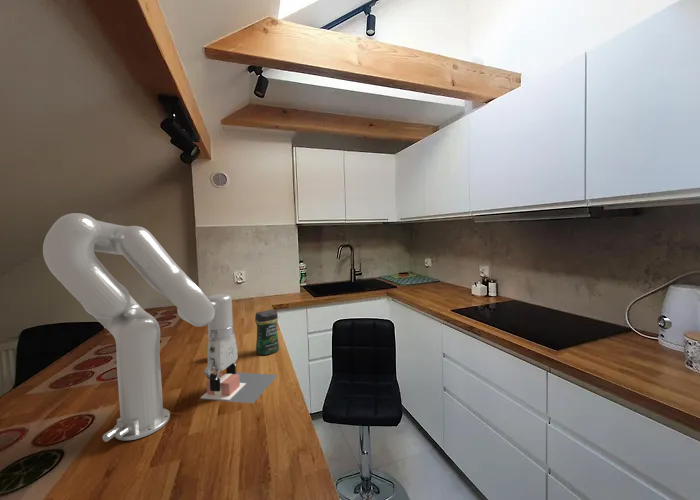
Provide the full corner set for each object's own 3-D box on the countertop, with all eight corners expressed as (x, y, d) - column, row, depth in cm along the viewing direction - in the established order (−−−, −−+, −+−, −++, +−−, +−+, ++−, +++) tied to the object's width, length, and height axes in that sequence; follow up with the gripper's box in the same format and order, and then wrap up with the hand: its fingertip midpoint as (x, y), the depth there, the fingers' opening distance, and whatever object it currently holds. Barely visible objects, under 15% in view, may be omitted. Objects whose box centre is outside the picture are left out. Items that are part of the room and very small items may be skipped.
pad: (229, 400, 90) (229, 399, 90) (200, 398, 92) (200, 397, 92) (245, 384, 100) (245, 383, 100) (219, 382, 102) (219, 381, 102)
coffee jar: (262, 357, 123) (260, 314, 122) (253, 352, 129) (251, 311, 128) (282, 351, 130) (280, 310, 129) (273, 346, 135) (271, 307, 135)
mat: (253, 404, 89) (253, 403, 88) (201, 400, 92) (200, 399, 92) (277, 376, 106) (277, 374, 106) (233, 373, 109) (233, 372, 109)
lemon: (204, 359, 123) (203, 341, 122) (217, 355, 127) (216, 337, 126) (209, 363, 119) (208, 344, 119) (222, 358, 123) (221, 340, 123)
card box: (207, 394, 94) (206, 382, 94) (218, 384, 100) (218, 373, 100) (229, 396, 92) (228, 383, 92) (240, 385, 98) (239, 374, 98)
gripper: (214, 342, 86) (217, 399, 87) (245, 324, 103) (247, 371, 104) (192, 341, 87) (195, 397, 88) (226, 323, 104) (228, 370, 105)
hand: (223, 383), depth 96 cm, fingers open, 8 cm apart
